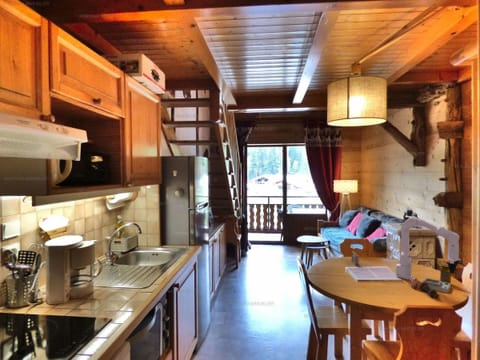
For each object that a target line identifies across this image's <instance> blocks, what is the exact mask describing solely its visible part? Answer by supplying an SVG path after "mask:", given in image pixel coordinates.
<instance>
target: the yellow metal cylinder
mask: <svg viewBox="0 0 480 360" xmlns="http://www.w3.org/2000/svg"><path fill="white" fill-rule="evenodd" d="M439 275H440V277H439V279H440V281H442V282H448V283H449V284H451V283H452V282H451V280H452V273H450V270H449V266H448V264H441V266H440V273H439ZM451 285H452V284H451Z"/></svg>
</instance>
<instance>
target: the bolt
mask: <svg viewBox="0 0 480 360" xmlns="http://www.w3.org/2000/svg"><path fill="white" fill-rule="evenodd" d="M418 288H419V289H420V290H421V291H422V292H424V291H425V292H426V293H427V294H428V296H429V297H430V298H433V299H436V300H437V299H439V298H440V294H439V293H438V292H437V290H434V289H431V288H429V286H428V284H427V283H425V282H423V281H422V282H420V284H418Z"/></svg>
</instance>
